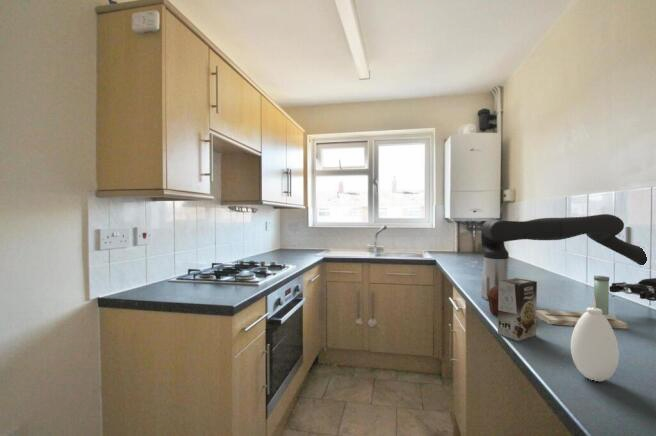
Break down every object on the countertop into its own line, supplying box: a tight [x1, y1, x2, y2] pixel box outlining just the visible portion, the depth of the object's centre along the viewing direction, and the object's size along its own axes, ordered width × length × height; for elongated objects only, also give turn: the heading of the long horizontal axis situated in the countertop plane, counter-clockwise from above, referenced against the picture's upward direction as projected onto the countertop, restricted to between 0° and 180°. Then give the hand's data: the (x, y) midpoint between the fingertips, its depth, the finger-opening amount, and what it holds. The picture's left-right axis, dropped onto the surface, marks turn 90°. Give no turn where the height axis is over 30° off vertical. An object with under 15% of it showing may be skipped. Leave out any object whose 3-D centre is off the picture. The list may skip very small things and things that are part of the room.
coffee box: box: [497, 277, 538, 342], centre depth 90 cm, size 9×6×16 cm
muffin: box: [487, 285, 499, 317], centre depth 109 cm, size 12×11×10 cm
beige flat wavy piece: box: [536, 309, 628, 329], centre depth 102 cm, size 22×10×2 cm, turn 81°
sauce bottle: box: [570, 296, 620, 382], centre depth 66 cm, size 8×8×18 cm
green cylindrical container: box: [593, 275, 617, 319], centre depth 101 cm, size 5×6×13 cm
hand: (625, 292), depth 104 cm, fingers open, 8 cm apart
